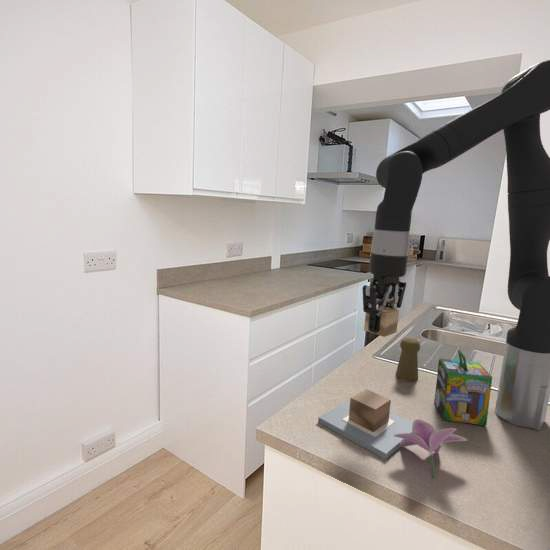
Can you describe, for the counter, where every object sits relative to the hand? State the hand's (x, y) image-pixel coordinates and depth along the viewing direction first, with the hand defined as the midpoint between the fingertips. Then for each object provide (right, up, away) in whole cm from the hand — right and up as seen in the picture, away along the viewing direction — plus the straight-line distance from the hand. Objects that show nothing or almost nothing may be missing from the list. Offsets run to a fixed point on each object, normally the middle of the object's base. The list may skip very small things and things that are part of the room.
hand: (380, 329), depth 80 cm
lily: (+5, -23, -12) cm, 26 cm away
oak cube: (0, -1, 0) cm, 0 cm away
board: (-3, -20, -2) cm, 21 cm away
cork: (+14, -17, +23) cm, 32 cm away
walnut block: (-3, -19, -2) cm, 19 cm away
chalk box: (+20, -20, +5) cm, 29 cm away
